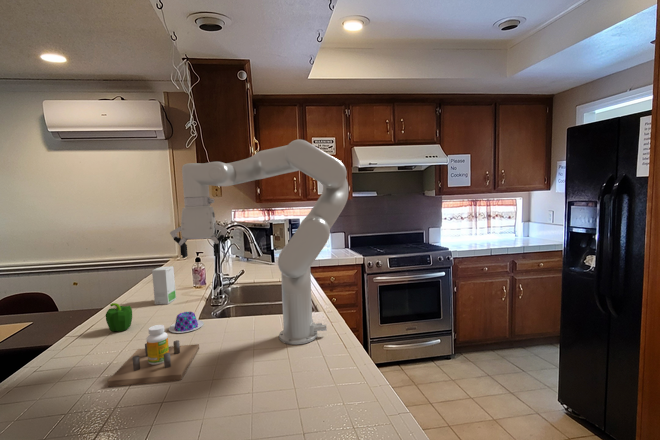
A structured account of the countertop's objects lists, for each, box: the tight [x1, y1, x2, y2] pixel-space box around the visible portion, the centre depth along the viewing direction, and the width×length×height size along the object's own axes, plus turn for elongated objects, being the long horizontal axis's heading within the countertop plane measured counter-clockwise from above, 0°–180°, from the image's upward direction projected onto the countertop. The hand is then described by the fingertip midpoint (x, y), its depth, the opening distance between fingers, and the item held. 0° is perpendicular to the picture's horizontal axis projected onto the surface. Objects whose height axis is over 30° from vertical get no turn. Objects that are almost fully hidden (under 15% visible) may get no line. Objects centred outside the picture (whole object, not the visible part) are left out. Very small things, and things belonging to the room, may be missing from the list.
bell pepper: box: [105, 302, 133, 332], centre depth 125 cm, size 8×8×10 cm
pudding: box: [168, 311, 205, 334], centre depth 126 cm, size 12×12×5 cm
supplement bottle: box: [146, 324, 170, 365], centre depth 98 cm, size 5×5×10 cm
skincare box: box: [151, 265, 177, 305], centre depth 157 cm, size 8×7×16 cm
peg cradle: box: [107, 340, 200, 387], centre depth 98 cm, size 18×18×5 cm
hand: (200, 256), depth 111 cm, fingers open, 9 cm apart
